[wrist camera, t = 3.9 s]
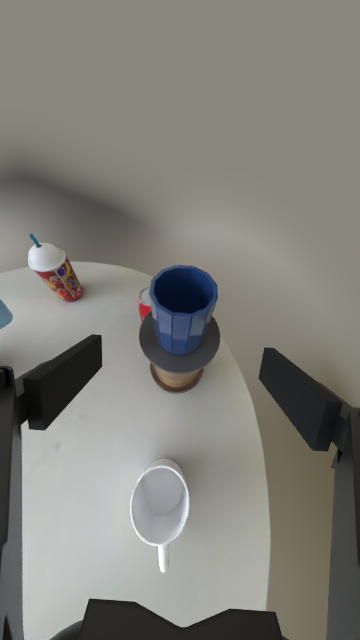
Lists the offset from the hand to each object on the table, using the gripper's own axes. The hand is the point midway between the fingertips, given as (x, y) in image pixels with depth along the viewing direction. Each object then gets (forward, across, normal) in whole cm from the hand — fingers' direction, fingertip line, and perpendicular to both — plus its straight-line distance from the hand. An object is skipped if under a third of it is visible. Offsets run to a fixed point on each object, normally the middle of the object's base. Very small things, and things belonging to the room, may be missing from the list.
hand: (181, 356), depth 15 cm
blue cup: (+16, 0, -3) cm, 16 cm away
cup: (+12, -1, -33) cm, 35 cm away
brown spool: (+29, 0, -16) cm, 33 cm away
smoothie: (+43, -34, -2) cm, 55 cm away
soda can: (+38, -7, -7) cm, 39 cm away
